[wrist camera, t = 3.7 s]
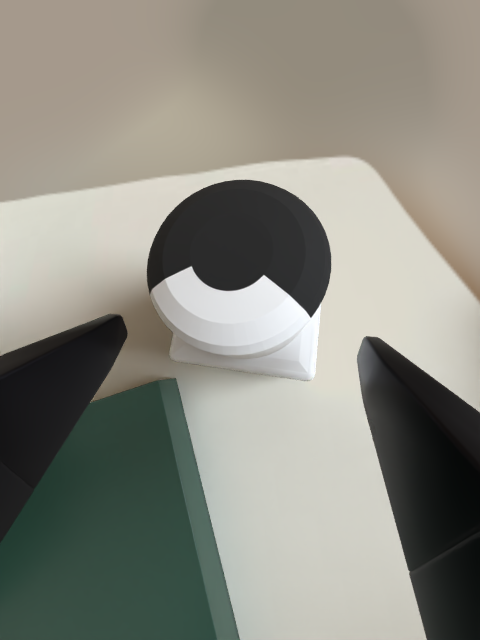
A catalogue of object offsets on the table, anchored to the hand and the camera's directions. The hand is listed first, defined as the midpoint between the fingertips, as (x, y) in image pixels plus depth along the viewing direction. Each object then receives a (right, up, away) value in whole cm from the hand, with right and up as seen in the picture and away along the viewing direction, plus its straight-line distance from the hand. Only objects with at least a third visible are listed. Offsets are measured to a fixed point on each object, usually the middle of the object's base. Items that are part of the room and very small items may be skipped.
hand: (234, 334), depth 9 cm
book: (-8, -14, +8) cm, 19 cm away
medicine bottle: (+2, 0, +10) cm, 10 cm away
